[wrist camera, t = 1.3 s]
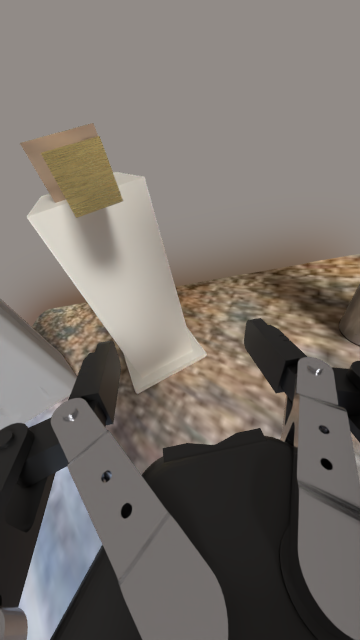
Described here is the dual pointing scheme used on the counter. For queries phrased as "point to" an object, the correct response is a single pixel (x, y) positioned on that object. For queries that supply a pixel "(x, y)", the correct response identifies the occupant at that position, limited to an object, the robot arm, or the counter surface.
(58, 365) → the triangular grey vase
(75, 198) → the gold block
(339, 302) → the counter surface
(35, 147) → the mount
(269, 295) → the counter surface
